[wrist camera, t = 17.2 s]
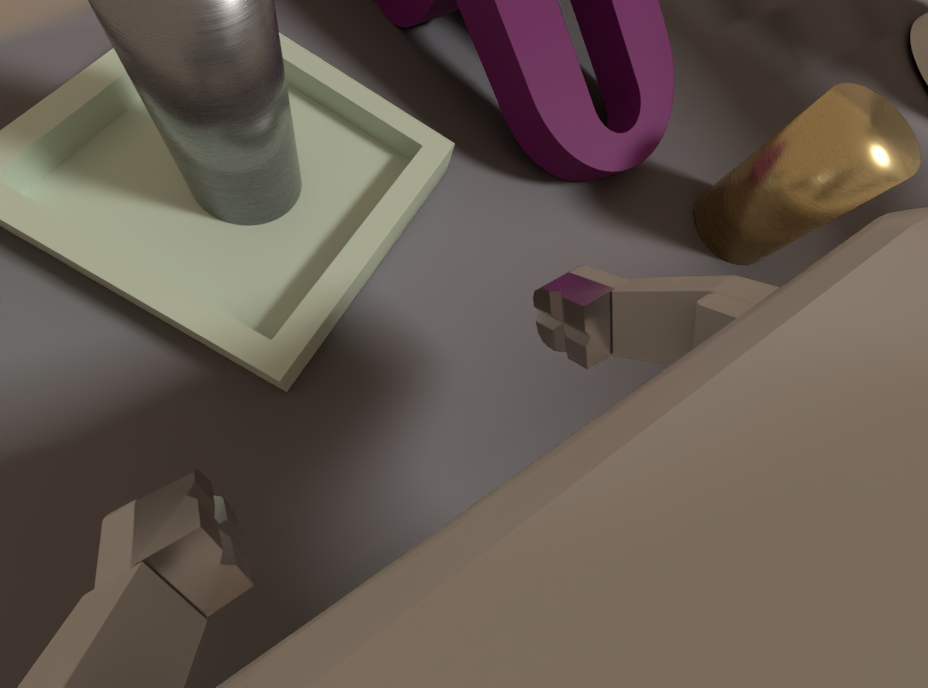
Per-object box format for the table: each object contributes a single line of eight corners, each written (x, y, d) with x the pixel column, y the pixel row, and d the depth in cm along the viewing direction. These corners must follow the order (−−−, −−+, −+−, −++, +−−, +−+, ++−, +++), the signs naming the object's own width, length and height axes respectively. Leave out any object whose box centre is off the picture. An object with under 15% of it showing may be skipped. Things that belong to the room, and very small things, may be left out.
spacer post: (323, 179, 18) (300, -84, 10) (252, 245, 16) (153, -1, 8) (242, 120, 18) (150, -197, 10) (163, 180, 16) (-28, -134, 8)
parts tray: (446, 171, 20) (454, 143, 19) (286, 392, 16) (279, 381, 14) (214, 26, 20) (202, -17, 18) (-22, 213, 15) (-68, 179, 13)
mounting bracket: (579, 172, 30) (464, -139, 25) (694, 129, 23) (567, -328, 17) (476, 232, 27) (314, -114, 21) (572, 205, 19) (364, -336, 14)
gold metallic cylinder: (774, 219, 25) (924, 125, 18) (756, 281, 23) (916, 201, 17) (706, 175, 25) (835, 64, 18) (684, 234, 23) (816, 134, 16)
